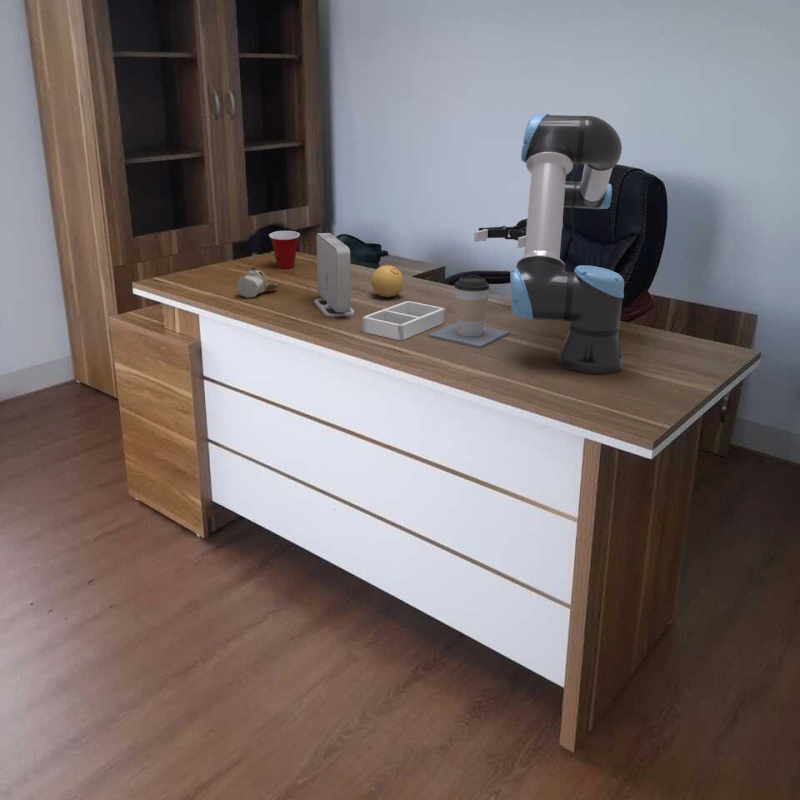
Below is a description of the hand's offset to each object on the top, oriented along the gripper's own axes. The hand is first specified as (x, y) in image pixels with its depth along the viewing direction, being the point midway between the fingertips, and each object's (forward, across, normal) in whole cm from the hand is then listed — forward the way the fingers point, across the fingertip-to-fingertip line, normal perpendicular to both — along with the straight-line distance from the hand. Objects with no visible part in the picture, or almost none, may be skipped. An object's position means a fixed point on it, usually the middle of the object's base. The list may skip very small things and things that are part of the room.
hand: (496, 239), depth 225 cm
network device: (+17, +43, -23) cm, 52 cm away
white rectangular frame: (+20, +16, -23) cm, 35 cm away
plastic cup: (-13, +90, -22) cm, 94 cm away
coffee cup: (+16, -2, -23) cm, 28 cm away
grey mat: (+16, -2, -23) cm, 28 cm away
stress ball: (-3, +39, -23) cm, 45 cm away
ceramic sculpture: (+20, +73, -23) cm, 79 cm away
